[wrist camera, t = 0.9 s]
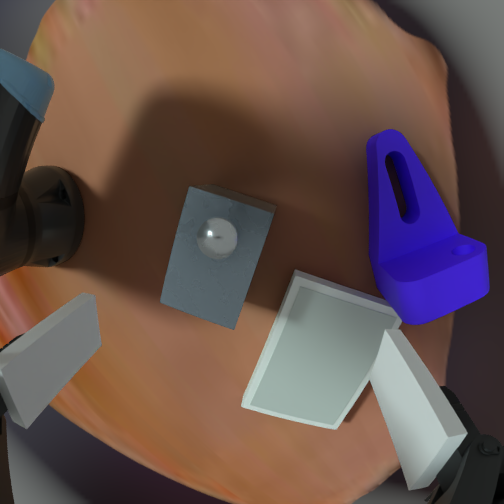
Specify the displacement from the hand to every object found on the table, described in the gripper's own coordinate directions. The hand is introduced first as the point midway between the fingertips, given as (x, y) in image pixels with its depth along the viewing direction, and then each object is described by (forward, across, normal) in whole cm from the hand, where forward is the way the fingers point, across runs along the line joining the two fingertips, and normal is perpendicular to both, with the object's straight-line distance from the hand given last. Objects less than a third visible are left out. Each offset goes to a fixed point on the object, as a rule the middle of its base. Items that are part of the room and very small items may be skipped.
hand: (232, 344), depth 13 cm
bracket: (+24, +16, +5) cm, 30 cm away
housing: (+25, -4, -2) cm, 25 cm away
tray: (+24, +10, -16) cm, 30 cm away
